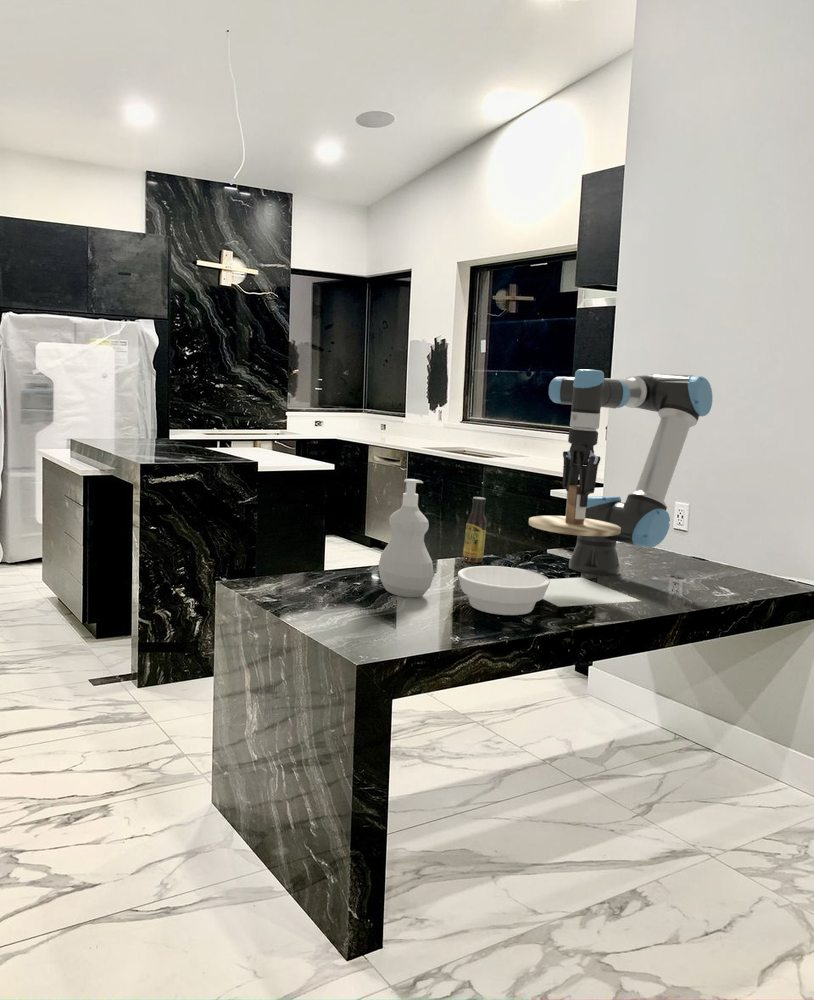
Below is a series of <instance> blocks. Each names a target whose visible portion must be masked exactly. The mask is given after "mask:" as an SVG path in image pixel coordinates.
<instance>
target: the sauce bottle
mask: <svg viewBox="0 0 814 1000" xmlns="http://www.w3.org/2000/svg"><path fill="white" fill-rule="evenodd" d="M471 502H472V507H471V512H470V513H469V516H468V519H467V521H466V523H465V524H466V525H465V532H464V538H463V539H464V541H463V548H462V549H463V551H462V560H463V561H464V562H467V563H470V564H471V563H472V564H478V563H482V562H483V558H484V550H485V543H486V542H485V541H486V533H487V524H488V523H487V522H488V520H487V517H486V515H485V504H486V503H487V498H485V497H481V496H473V497H472V500H471ZM463 558H467V559H463Z"/></svg>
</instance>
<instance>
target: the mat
mask: <svg viewBox="0 0 814 1000" xmlns="http://www.w3.org/2000/svg"><path fill="white" fill-rule="evenodd" d="M548 579H549V580H550V584H549V586H548V588H547V590H546V592H545V595H544V597H543V598H542V600H544V601H546V602H548V603H550V604H552V605H555V606H557V607H561V608H562V607H572V606H573V607H574V606H575V607H576V606H589V605H591V606H592V605H603V604H604V605H606V604H607V605H608V604H620V603H635V602H636V603H637V602H641V600H640V599H637V598H635V597H632V596H629V595H628V594H625V593H623V592H620V591H617V590H614V589H613V588H610V587H607V586H606V585H602V584H599V583H597V582H594V581H591V580H589V579H586V578H585V577H566V578H548Z"/></svg>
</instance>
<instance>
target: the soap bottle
mask: <svg viewBox="0 0 814 1000" xmlns="http://www.w3.org/2000/svg"><path fill="white" fill-rule="evenodd" d="M403 481H404V483H406V489H405V490H406V491H405V492H403V493H402V504H401V507H400V508H399V509H397V510H396V511H394V512H392V514H391V515H390V516H389V519H388V523H389V526H390V529H391V538H390V540H389V542H388V544H387V545H386V546H385V548H384V549H383V551H381V554H380V557H379V558H380V559H379V562H378V573H379V577H380V578H379V579H380V582H381V583H382V585H383V587H384V589H385V590H386V591H387V592H388V593H390V594H392V595H394V596H397V597H401V598H417V597H418V598H419V597H423V596H424V595H425V594H426V593H427V592H428V590H429V589H431V586H432V582H433V579H434V575H435V574H434V573H435V572H434V566H433V565H434V564H433V560H432V558H431V556H430V554H429V552H428V549H427V547H426V544H425V535H426V534H427V532H428V531H429V527H430V525H429V524H430V523H429V519H428V518H427V517H426V516H425V514H423V512H422V511H421V510H420V508H419V494H418V493H416V492H417V491H416V490H417V489H416V487H417V484H424V481H422V480H420V479H415V478H405V479H404V480H403Z"/></svg>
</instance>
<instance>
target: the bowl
mask: <svg viewBox="0 0 814 1000" xmlns="http://www.w3.org/2000/svg"><path fill="white" fill-rule="evenodd" d="M457 576H458V580H459V585H460V589H461V591H462V593H464V594H465V595H466V596H467V597H468V598H467V599H468V601H469V604H470V606H471V607H472V608H473V609H476V610H478V611H481V612H485V613H488V614H494V615H502V616H519V615H527V614H530V613H531V612H532V611H533V610H534V607H535V605H536V604H537V602H539V601H541V600H543V599H542V598H543V597H544V595H545V592H546V590H547V588H548V586H549V584H550V580H549V579H550V578H548V577H547V576H546V575H544V574H541V573H539V572H536V571H533V570H528V569H524V568H517V567H509V566H502V565H501V566H499V565H497V566H496V565H478V566H468V567H464V568H462V569H459V571H458V572H457Z"/></svg>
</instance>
